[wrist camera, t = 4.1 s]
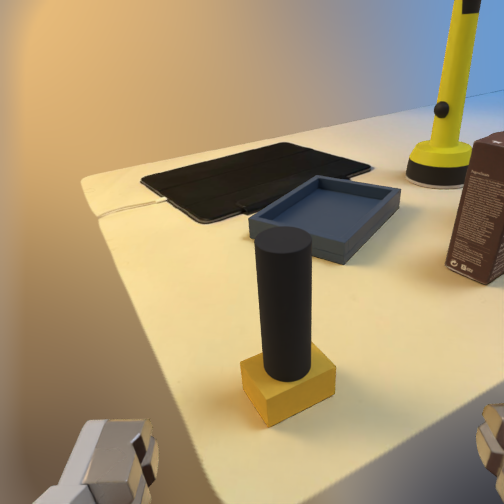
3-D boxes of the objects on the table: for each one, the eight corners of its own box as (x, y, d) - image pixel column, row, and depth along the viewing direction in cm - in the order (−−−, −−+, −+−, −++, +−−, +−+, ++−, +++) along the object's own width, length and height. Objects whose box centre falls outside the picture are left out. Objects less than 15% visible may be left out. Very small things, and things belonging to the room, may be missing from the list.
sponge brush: (268, 428, 25) (256, 267, 19) (242, 389, 27) (225, 238, 22) (335, 394, 26) (342, 238, 21) (304, 360, 29) (304, 215, 23)
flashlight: (465, -29, 51) (413, -28, 48) (537, -40, 44) (482, -39, 41) (434, 163, 64) (391, 175, 60) (487, 179, 57) (442, 193, 53)
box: (490, 288, 35) (527, 150, 29) (442, 267, 38) (467, 139, 32) (526, 264, 38) (567, 134, 32) (479, 246, 41) (508, 125, 35)
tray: (343, 265, 40) (345, 242, 39) (249, 238, 46) (248, 218, 45) (399, 207, 50) (401, 188, 49) (316, 192, 57) (316, 175, 55)
